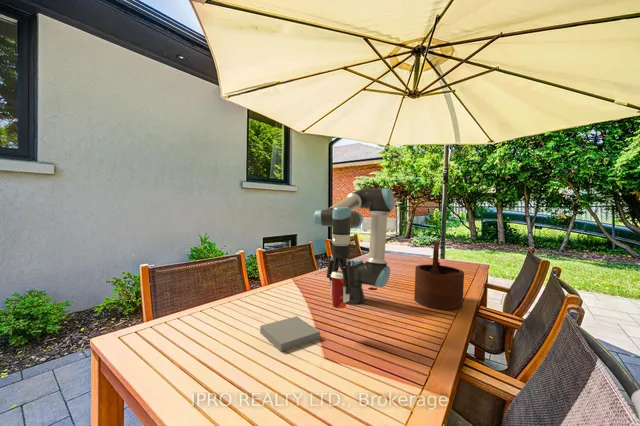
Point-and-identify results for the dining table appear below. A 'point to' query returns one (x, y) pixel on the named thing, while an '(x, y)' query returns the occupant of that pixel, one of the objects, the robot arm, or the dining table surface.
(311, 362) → the dining table surface
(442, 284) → the wooden bucket
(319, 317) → the dining table surface
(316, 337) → the slate tile
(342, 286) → the paper cup
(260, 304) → the dining table surface
